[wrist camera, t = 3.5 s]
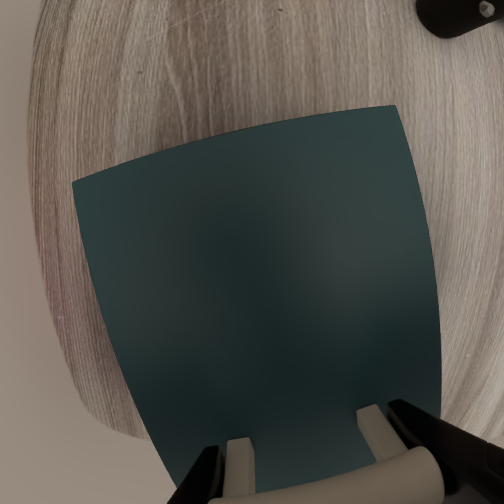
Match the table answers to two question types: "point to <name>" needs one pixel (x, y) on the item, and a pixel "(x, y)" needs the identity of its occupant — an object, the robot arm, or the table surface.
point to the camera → (458, 15)
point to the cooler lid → (275, 305)
